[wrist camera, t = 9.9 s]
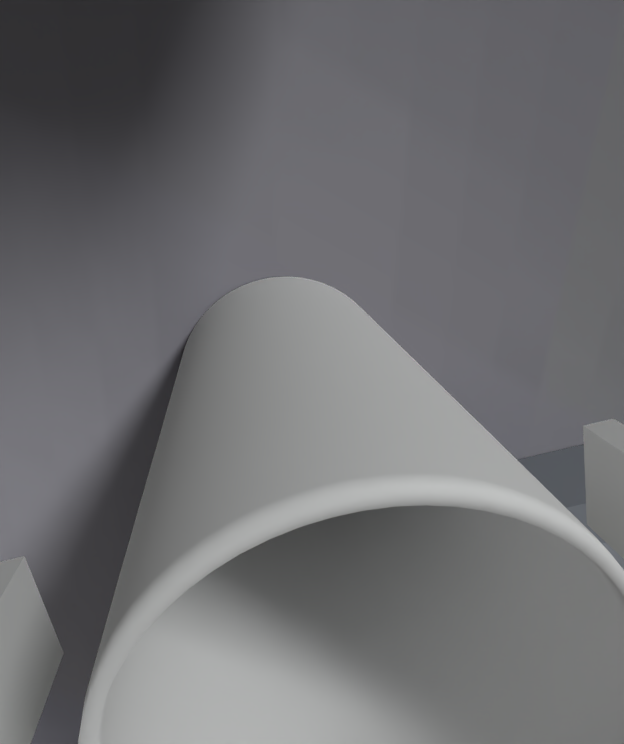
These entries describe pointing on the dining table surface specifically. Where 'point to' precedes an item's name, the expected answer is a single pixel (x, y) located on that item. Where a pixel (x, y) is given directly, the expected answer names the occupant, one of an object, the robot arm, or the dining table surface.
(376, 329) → the cup
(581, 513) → the panel
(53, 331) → the dining table surface
